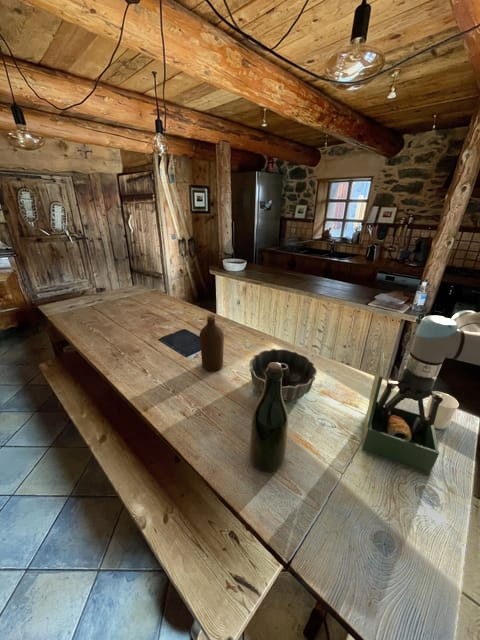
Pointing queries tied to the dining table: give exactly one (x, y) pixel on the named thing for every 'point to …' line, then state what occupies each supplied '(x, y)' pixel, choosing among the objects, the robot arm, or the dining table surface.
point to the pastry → (398, 428)
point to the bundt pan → (284, 372)
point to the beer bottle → (269, 423)
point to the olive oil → (211, 345)
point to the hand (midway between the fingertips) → (397, 431)
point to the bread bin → (401, 442)
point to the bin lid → (375, 389)
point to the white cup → (443, 410)
